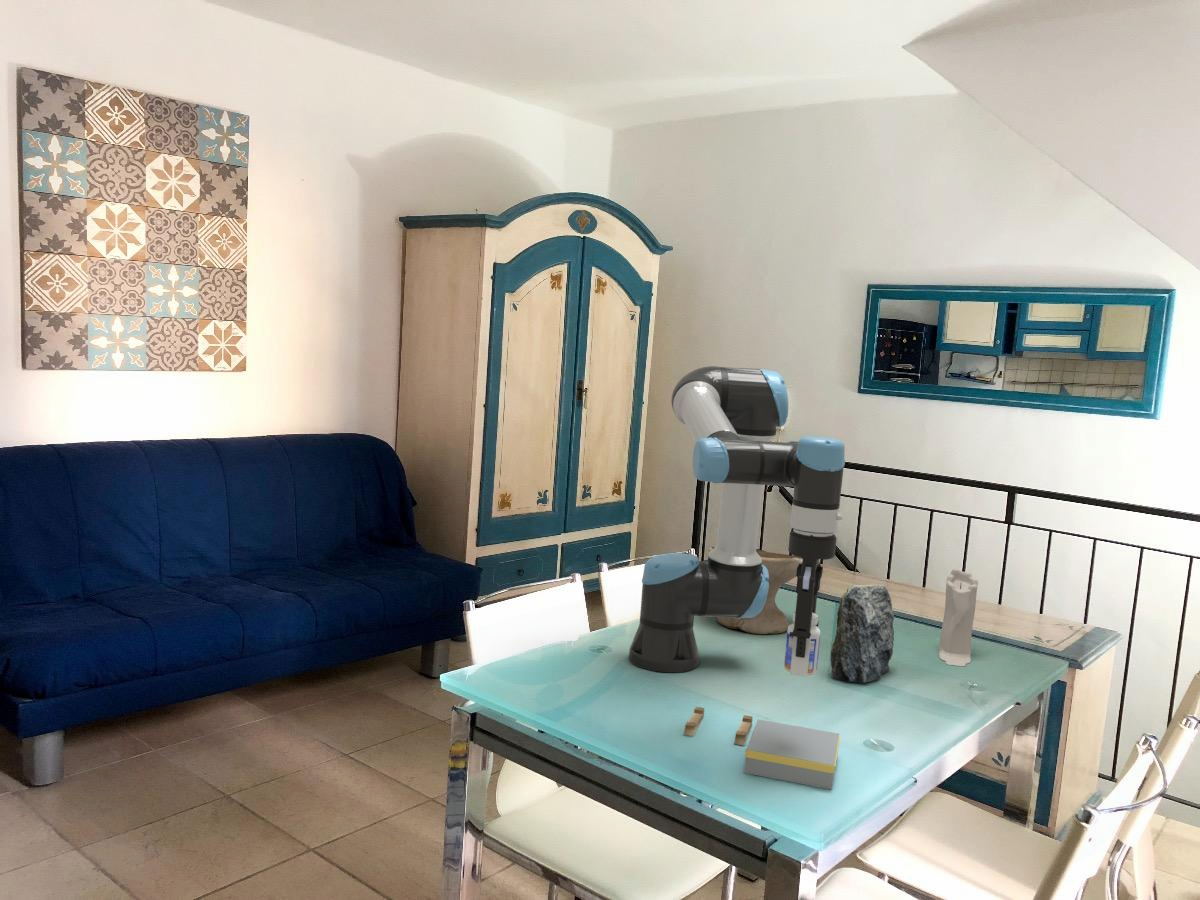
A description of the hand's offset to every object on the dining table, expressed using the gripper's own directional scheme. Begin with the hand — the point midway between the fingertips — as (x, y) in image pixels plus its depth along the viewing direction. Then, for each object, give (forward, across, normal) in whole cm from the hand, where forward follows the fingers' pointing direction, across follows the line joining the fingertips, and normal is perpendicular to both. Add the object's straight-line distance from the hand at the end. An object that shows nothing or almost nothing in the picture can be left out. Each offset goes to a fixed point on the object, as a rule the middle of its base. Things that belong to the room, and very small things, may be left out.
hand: (800, 669), depth 162 cm
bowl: (+17, +82, +18) cm, 86 cm away
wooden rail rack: (+16, +9, +14) cm, 23 cm away
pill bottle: (+1, 0, 0) cm, 1 cm away
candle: (+17, +79, -30) cm, 86 cm away
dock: (+16, 0, 0) cm, 16 cm away
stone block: (+17, +55, -10) cm, 58 cm away
